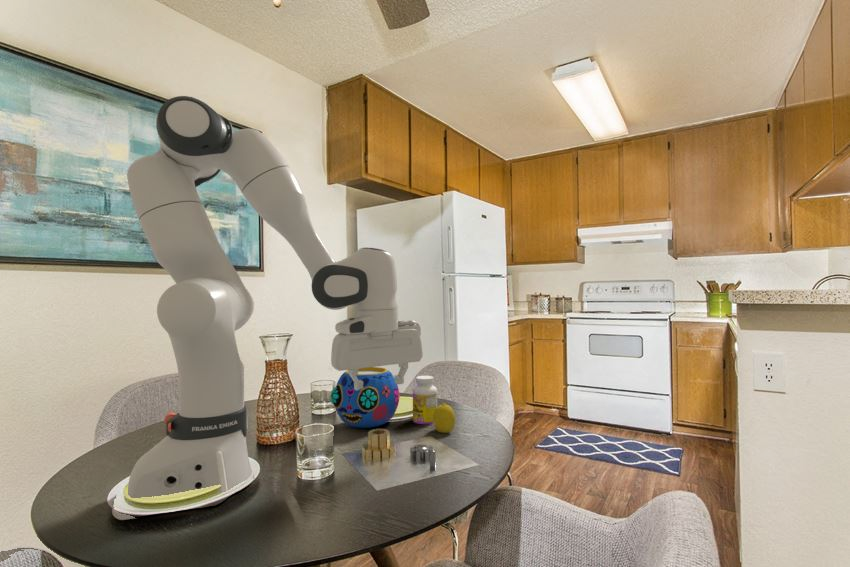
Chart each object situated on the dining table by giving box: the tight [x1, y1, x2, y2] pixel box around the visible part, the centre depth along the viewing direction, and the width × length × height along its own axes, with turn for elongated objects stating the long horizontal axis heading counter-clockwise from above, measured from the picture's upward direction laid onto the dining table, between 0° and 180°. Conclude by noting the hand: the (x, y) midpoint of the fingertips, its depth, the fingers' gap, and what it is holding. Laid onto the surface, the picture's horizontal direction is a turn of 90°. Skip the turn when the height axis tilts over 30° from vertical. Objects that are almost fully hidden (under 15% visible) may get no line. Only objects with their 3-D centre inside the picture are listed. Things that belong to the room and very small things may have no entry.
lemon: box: [433, 402, 456, 434], centre depth 108 cm, size 6×6×8 cm
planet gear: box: [361, 428, 396, 460], centre depth 93 cm, size 7×7×5 cm
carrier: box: [341, 436, 480, 492], centre depth 90 cm, size 22×20×5 cm
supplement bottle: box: [412, 375, 438, 426], centre depth 117 cm, size 7×7×13 cm
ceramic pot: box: [330, 366, 400, 429], centre depth 116 cm, size 18×18×15 cm
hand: (379, 386), depth 93 cm, fingers open, 8 cm apart
